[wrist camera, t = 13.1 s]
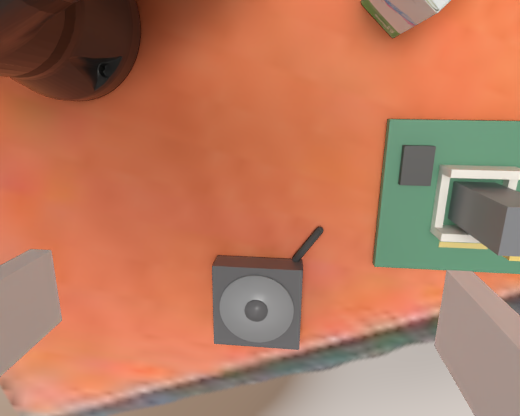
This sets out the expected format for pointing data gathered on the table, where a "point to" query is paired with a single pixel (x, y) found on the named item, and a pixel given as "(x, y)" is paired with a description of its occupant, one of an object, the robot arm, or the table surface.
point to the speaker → (257, 301)
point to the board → (440, 191)
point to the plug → (488, 215)
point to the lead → (307, 244)
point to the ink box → (402, 13)
